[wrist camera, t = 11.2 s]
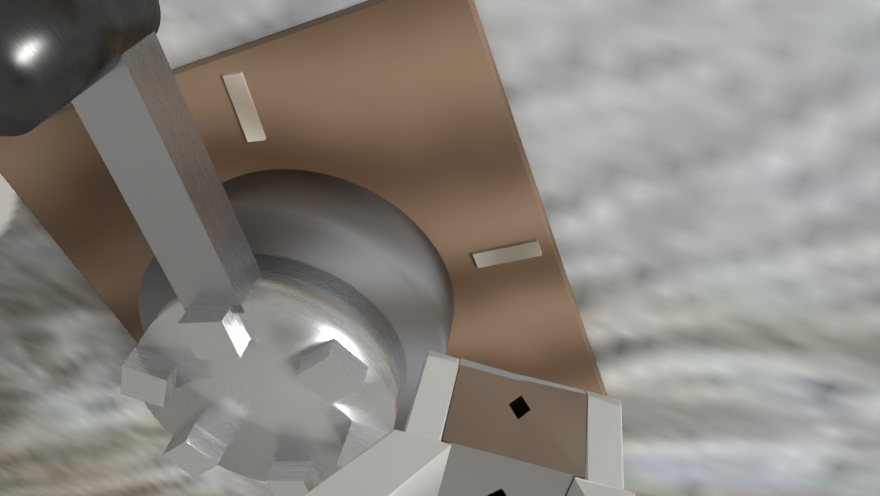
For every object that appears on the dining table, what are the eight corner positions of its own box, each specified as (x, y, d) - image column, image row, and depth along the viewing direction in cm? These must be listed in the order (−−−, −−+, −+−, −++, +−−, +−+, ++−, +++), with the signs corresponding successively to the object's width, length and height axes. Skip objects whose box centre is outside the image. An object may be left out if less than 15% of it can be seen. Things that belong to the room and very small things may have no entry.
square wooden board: (610, 406, 38) (614, 486, 34) (242, 451, 46) (210, 520, 42) (462, -33, 25) (441, 12, 21) (-9, 134, 33) (-89, 189, 29)
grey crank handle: (430, 432, 33) (402, 567, 28) (223, 434, 36) (161, 558, 30) (260, -94, 20) (146, -29, 15) (-45, -29, 23) (-234, 46, 17)
